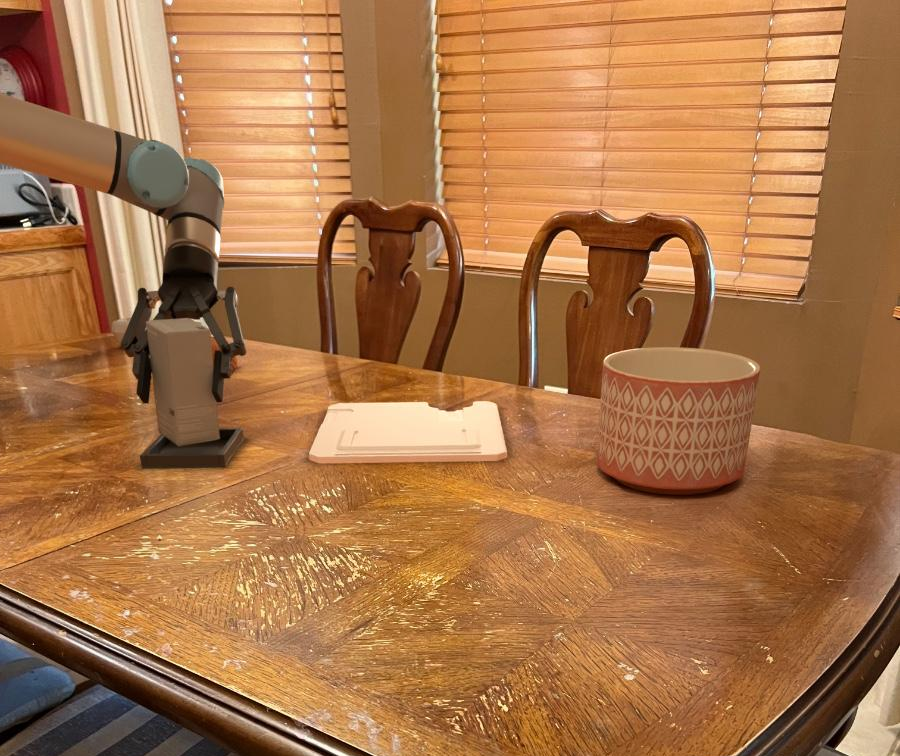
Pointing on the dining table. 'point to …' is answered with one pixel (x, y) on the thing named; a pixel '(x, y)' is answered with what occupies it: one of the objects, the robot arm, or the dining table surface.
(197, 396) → the cosmetic box
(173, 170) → the robot arm
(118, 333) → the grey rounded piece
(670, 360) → the planter
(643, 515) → the dining table surface
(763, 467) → the dining table surface
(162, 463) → the pad
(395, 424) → the tray
